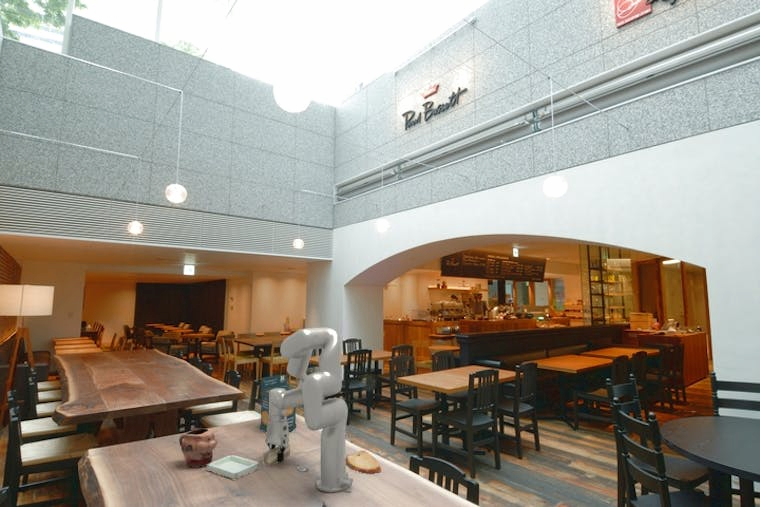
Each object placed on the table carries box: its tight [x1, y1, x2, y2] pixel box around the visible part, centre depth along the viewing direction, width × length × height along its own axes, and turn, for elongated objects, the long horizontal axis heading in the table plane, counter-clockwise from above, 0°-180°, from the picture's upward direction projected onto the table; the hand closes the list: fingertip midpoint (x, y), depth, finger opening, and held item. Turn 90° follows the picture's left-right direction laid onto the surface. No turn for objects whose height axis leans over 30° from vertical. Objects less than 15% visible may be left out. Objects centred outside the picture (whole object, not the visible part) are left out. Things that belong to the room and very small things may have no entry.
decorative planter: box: [178, 428, 218, 468], centre depth 173 cm, size 20×12×14 cm, turn 76°
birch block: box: [262, 445, 291, 467], centre depth 173 cm, size 4×12×5 cm, turn 148°
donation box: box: [259, 374, 297, 433], centre depth 219 cm, size 16×16×28 cm
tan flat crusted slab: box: [346, 450, 382, 475], centre depth 168 cm, size 18×18×4 cm
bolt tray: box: [206, 454, 261, 479], centre depth 165 cm, size 18×12×2 cm
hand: (276, 460), depth 173 cm, fingers closed on birch block, 4 cm apart
